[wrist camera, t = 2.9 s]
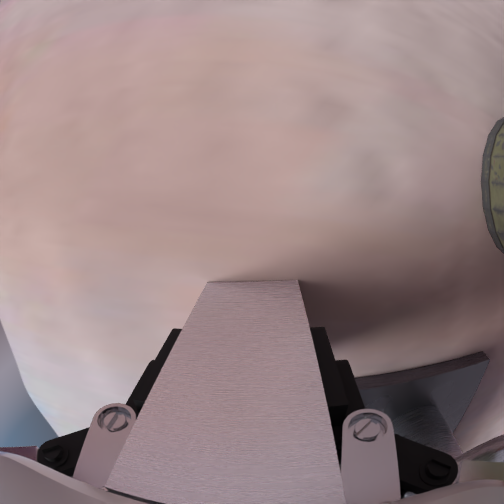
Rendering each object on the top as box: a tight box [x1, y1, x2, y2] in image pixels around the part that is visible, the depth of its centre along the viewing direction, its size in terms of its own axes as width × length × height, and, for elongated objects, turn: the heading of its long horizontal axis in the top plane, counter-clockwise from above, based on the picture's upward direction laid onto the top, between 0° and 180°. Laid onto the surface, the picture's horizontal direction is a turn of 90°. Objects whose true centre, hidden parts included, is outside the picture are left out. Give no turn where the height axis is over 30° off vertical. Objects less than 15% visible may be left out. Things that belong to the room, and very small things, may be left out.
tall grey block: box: [105, 280, 346, 504], centre depth 8 cm, size 4×4×10 cm
